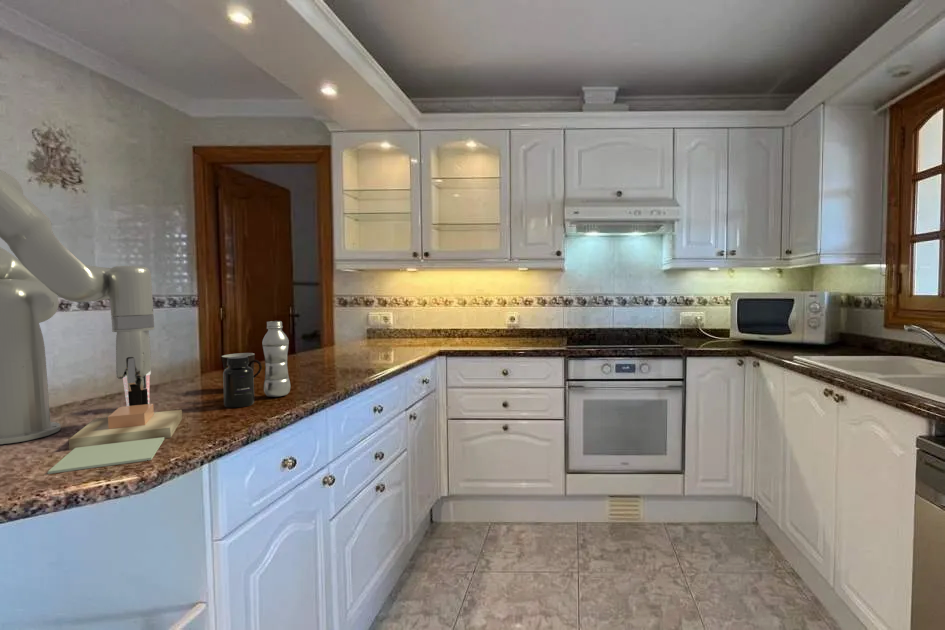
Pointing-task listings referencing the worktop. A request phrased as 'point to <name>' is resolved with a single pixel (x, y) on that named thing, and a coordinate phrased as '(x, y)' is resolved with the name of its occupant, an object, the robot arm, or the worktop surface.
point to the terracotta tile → (131, 416)
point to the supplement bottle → (238, 383)
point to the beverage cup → (127, 387)
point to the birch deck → (126, 430)
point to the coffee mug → (249, 355)
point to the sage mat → (108, 455)
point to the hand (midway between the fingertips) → (138, 408)
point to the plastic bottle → (276, 360)
